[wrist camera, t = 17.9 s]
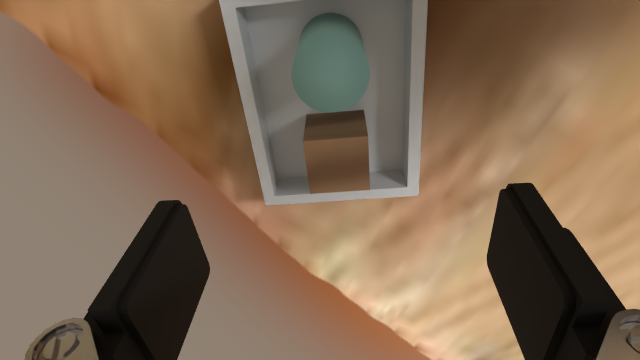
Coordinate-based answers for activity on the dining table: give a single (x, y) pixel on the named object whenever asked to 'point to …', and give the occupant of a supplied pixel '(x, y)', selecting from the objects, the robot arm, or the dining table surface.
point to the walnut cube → (337, 152)
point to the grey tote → (290, 112)
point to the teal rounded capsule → (330, 64)
